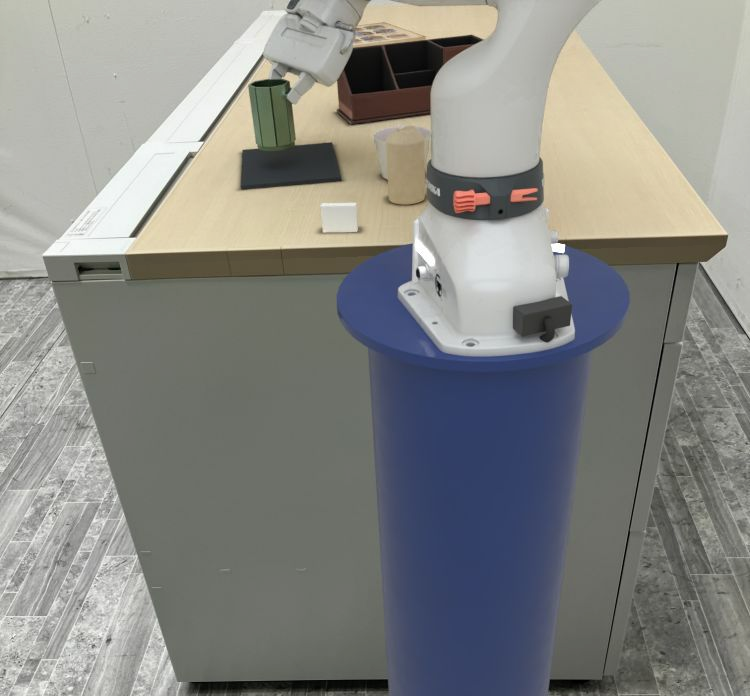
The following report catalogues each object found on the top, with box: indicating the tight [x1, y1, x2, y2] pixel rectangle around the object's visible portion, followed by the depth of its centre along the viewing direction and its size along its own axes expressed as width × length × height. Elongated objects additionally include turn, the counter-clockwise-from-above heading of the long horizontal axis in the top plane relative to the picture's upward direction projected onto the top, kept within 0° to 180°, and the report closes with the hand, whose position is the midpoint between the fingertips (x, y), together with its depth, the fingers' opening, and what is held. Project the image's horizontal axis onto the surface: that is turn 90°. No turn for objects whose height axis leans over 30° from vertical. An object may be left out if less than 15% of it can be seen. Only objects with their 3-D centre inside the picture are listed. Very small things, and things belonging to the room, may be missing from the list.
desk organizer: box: [336, 34, 485, 125], centre depth 161 cm, size 10×29×11 cm, turn 107°
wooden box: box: [352, 21, 427, 48], centre depth 199 cm, size 25×6×28 cm
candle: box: [386, 125, 426, 205], centre depth 121 cm, size 6×6×10 cm
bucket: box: [247, 78, 297, 151], centre depth 133 cm, size 10×6×6 cm
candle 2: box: [372, 125, 431, 181], centre depth 130 cm, size 9×9×6 cm
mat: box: [240, 141, 342, 190], centre depth 139 cm, size 20×16×1 cm
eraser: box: [319, 202, 359, 233], centre depth 114 cm, size 1×5×4 cm, turn 85°
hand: (278, 97), depth 132 cm, fingers closed on bucket, 6 cm apart
